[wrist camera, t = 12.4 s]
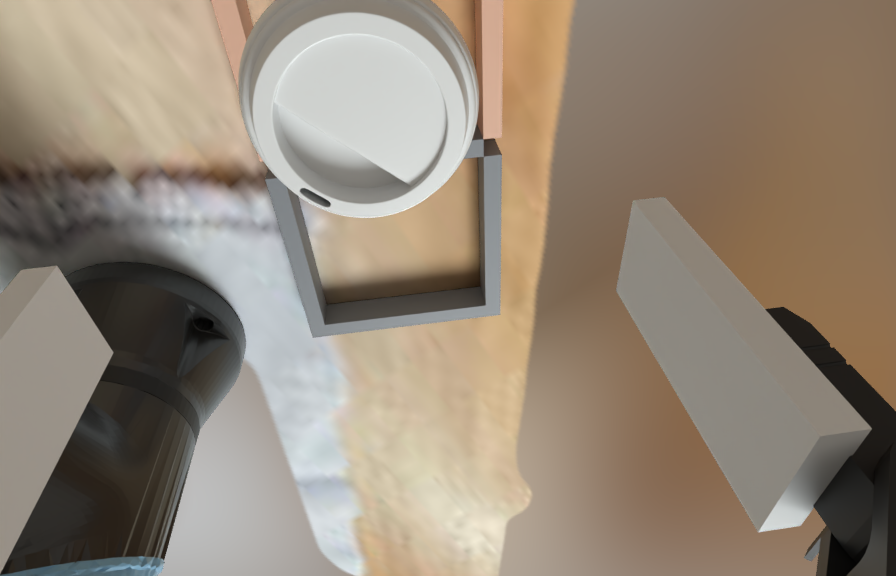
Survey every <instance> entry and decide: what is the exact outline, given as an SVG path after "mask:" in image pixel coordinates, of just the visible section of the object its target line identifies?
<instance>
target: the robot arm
mask: <svg viewBox="0 0 896 576" xmlns="http://www.w3.org/2000/svg"><path fill="white" fill-rule="evenodd" d="M616 291H617V293H618V295H619V296H620V298H621V300H622V301H623V303H624V305H625V307H626V308H627V310H628V312H629V314H630V315H631V317H632V319H633V320H634V322H635V324H636V325H637V327H638V329H639V331H640V332H641V334H642V336H643V337H644V339H645V341H646V342H647V344H648V346H649V347H650V349H651V351H652V352H653V354H654V356H655V358H656V359H657V361H658V363H659V365H660V366H661V368H662V369H663V371H664V373H665V375H666V376H667V378H668V380H669V382H670V383H671V385H672V387H673V388H674V390H675V392H676V394H677V395H678V397H679V398H680V400H681V402H682V404H683V405H684V407H685V409H686V411H687V412H688V414H689V416H690V417H691V419H692V421H693V422H694V424H695V426H696V428H697V429H698V431H699V432H700V434H701V436H702V438H703V439H704V441H705V443H706V444H707V446H708V448H709V450H710V451H711V453H712V455H713V456H714V458H715V460H716V462H717V463H718V465H719V466H720V468H721V470H722V472H723V473H724V475H725V477H726V479H727V480H728V482H729V484H730V485H731V487H732V489H733V490H734V492H735V494H736V496H737V497H738V499H739V501H740V502H741V504H742V506H743V507H744V509H745V511H746V513H747V514H748V516H749V518H750V519H751V521H752V523H753V525H754V526H755V528H756V530H757V531H758V532H762V531H769V530H776V529H782V528H789V527H795V526H801V524H802V523H803V522H804V520H805V519H806V517H807V516H808V515H809V513H810V512H811V511H812V509H813V508H815V509H816V510H817V512H818V514H819V515H820V516H821V518H822V519H823V521H824V522H825V524H826V525H827V526H826V527H825V528H824V529H823V531H822V532H821V533H820V534H819V536H818V537H817V538H816V539H815V541H814V542H813V543H812V544H811V546H810V547H809V548H808V550H807V553H806V555H805V557H804V558H805V559H807V560H809V561H812V560H813V559H814V558H815V556H816V555H817V554H818V553H819V556H818V564H817V572H816V576H896V411H895V410H894V409H893V408H892V407H891V406H890V405H889V404H888V403H887V402H886V401H885V400H884V399H883V398H882V397H881V396H880V395H879V394H878V393H877V392H876V391H875V389H874V388H872V387H871V385H870V384H869V383H868V382H867V381H866V380H865V379H864V378H863V377H862V376H861V375H860V374H859V373H858V372H857V371H856V370H855V369H854V368H853V367H852V366H851V365H847V364H846V360H845V359H844V358H843V357H842V355H841V354H840V353H839V352H838V351H836V349H835V348H831V347H830V343H829V342H828V341H827V340H826V339H825V338H824V337H823V336H822V335H821V334H820V333H819V332H818V331H817V330H816V329H815V328H814V327H813V326H812V324H810V323H809V322H807V321H806V320H804V319H803V318H801V317H799V316H797V315H796V314H794V313H793V312H791V311H789V310H788V309H786V308H784V307H780V308H771V309H764V308H763V307H762V305H761V304H760V303H759V302H758V301H757V300H756V299H755V298H754V296H753V295H752V294H751V293H750V292H749V291H748V290H747V289H746V288H745V286H744V285H743V284H742V283H741V282H740V281H739V280H738V279H737V278H736V276H735V275H734V274H733V273H732V272H731V271H730V270H729V269H728V268H727V266H726V265H725V264H724V263H723V262H722V261H721V260H720V259H719V257H718V256H717V255H716V254H715V253H714V252H713V251H712V250H711V249H710V248H709V246H708V245H707V244H706V243H705V242H704V241H703V240H702V239H701V237H700V236H699V235H698V234H697V233H696V232H695V231H694V230H693V228H692V227H691V226H690V225H689V224H688V223H687V222H686V221H685V220H684V218H682V216H681V215H680V214H679V213H678V212H677V211H676V209H675V208H674V207H673V206H672V205H671V204H670V203H669V202H668V201H667V200H666V198H665V197H661V198H652V199H644V200H634V201H633V204H632V209H631V214H630V220H629V225H628V231H627V236H626V241H625V246H624V251H623V257H622V262H621V267H620V273H619V278H618V283H617V289H616ZM245 348H246V340H245V334H244V330H243V327H242V325H241V323H240V321H239V319H238V317H237V315H236V314H235V312H234V311H233V310H232V309H231V307H230V306H229V305H228V304H227V303H226V302H225V301H224V300H223V299H222V298H221V297H220V296H219V295H217V294H216V293H215V292H213V291H212V290H211V289H209V288H208V287H206V286H205V285H203V284H201V283H200V282H198V281H196V280H194V279H192V278H190V277H188V276H185V275H183V274H180V273H178V272H175V271H172V270H169V269H165V268H161V267H157V266H152V265H147V264H139V263H107V264H100V265H95V266H91V267H87V268H84V269H81V270H79V271H76V272H74V273H72V274H70V275H68V276H67V277H64V275H63V274H62V272H61V271H60V269H59V268H58V266H49V267H40V268H32V269H23V270H20V272H19V273H18V274H17V275H16V276H15V278H14V279H13V280H12V281H11V282H10V283H9V285H8V286H7V287H6V288H5V289H4V291H3V292H2V293H1V294H0V576H158V574H159V573H161V571H162V569H163V564H164V558H165V554H166V551H167V548H168V544H169V540H170V537H171V533H172V529H173V526H174V522H175V518H176V515H177V511H178V507H179V504H180V500H181V496H182V493H183V489H184V485H185V482H186V478H187V474H188V470H189V467H190V463H191V459H192V456H193V452H194V448H195V445H196V441H197V438H198V435H199V431H200V429H201V427H202V426H203V425H204V423H205V422H206V421H207V419H208V418H209V417H210V415H211V414H212V413H213V412H214V410H215V409H216V408H217V406H218V405H219V403H220V402H221V401H222V400H223V398H224V397H225V396H226V395H227V393H228V392H229V390H230V389H231V388H232V386H233V385H234V383H235V382H236V380H237V378H238V375H239V373H240V369H241V366H242V362H243V358H244V354H245Z"/></svg>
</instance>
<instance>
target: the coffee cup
mask: <svg viewBox="0 0 896 576" xmlns="http://www.w3.org/2000/svg"><path fill="white" fill-rule="evenodd" d="M238 91H239V101H240V107H241V112H242V116H243V120H244V124H245V127H246V130H247V132H248V135H249V137H250V139H251V142H252V144H253V145H254V147H255V149H256V151H257V153H258V154H259V156H260V157H261V159H262V160H263V161H264V163H265V164H266V166H267V167H268V168H269V169H270V170H271V172H272V173H273V174H274V175H275V176H276V177H277V178H278V179H279V180H280V181H281V182H282V183H283V184H284V185H285V186H287V187H288V188H289V189H290V190H291V191H292V192H294V193H295V194H296V195H298V196H299V197H300V198H302V199H303V200H305V201H307V202H308V203H310V204H312V205H314V206H316V207H318V208H320V209H323V210H325V211H328V212H331V213H334V214H338V215H342V216H348V217H356V218H374V217H382V216H388V215H392V214H396V213H399V212H402V211H404V210H407V209H409V208H411V207H413V206H415V205H417V204H419V203H420V202H422V201H423V200H425V199H426V198H428V197H429V196H430V195H431V194H433V193H434V192H435V191H437V190H438V189H439V188H440V187H441V186H442V185H443V184H444V183H445V182H446V181H447V180H448V179H449V178H450V177H451V176H452V174H453V173H454V172H455V171H456V169H457V168H458V167H459V165H460V164H461V162H462V160H463V159H464V157H465V155H466V153H467V151H468V149H469V146H470V144H471V141H472V138H473V135H474V132H475V128H476V123H477V118H478V111H479V87H478V79H477V74H476V70H475V66H474V62H473V59H472V57H471V54H470V51H469V49H468V47H467V45H466V43H465V41H464V39H463V37H462V36H461V34H460V32H459V31H458V29H457V28H456V26H455V25H454V24H453V22H452V21H451V20H450V19H449V18H448V16H447V15H446V14H445V13H444V12H443V11H442V10H441V9H440V8H439V7H438V6H437V5H436V4H434V3H433V2H432V1H431V0H275V1H274V2H273V3H272V4H271V5H270V6H269V7H268V8H267V9H266V10H265V12H264V13H263V14H262V15H261V17H260V18H259V19H258V21H257V22H256V24H255V25H254V27H253V29H252V31H251V33H250V35H249V37H248V39H247V41H246V44H245V47H244V50H243V53H242V57H241V61H240V67H239V77H238Z"/></svg>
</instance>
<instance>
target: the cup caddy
mask: <svg viewBox="0 0 896 576" xmlns="http://www.w3.org/2000/svg"><path fill="white" fill-rule="evenodd" d="M211 2H212V5H213V8H214V12H215V15H216V18H217V22H218V25H219V28H220V31H221V35H222V38H223V41H224V45H225V48H226V51H227V55H228V58H229V61H230V65H231V68H232V71H233V75H234V78H235V81H236V84H237V88H238V77H239V67H240V61H241V57H242V53H243V50H244V47H245V44H246V41H247V39H248V37H249V35H250V33H251V31H252V29H253V24H252V21H251V17H250V13H249V9H248V6H247V2H246V0H211ZM475 41H476V74H477V79H478V87H479V111H478V118H477V124H476V128H475V132H474V135H473V138H472V141H471V144H470V146H469V149H468V151H467V153H466V155H465V157H464V159H466V158H475V157H478V186H479V234H480V283H481V287H472V288H464V289H455V290H447V291H438V292H430V293H421V294H413V295H405V296H396V297H388V298H379V299H371V300H362V301H354V302H345V303H337V304H329V305H327V304H326V301H325V297H324V293H323V289H322V285H321V282H320V278H319V274H318V270H317V266H316V263H315V259H314V255H313V251H312V248H311V244H310V240H309V236H308V232H307V229H306V225H305V221H304V217H303V214H302V210H301V206H300V202H299V198H298V195H296V194H295V193H294V192H292V191H291V190H290V189H289V188H288V187H287V186H285V185H284V184H283V183H282V182H281V181H280V180H279V179H278V178H277V177H276V176H275V175H274V174H273V173H272V172H271V170H270V169H268V172H267V175H266V178H265V181H266V184H267V187H268V191H269V194H270V197H271V200H272V204H273V207H274V210H275V214H276V217H277V220H278V224H279V227H280V230H281V234H282V237H283V240H284V244H285V247H286V250H287V253H288V257H289V260H290V263H291V267H292V270H293V273H294V277H295V280H296V283H297V287H298V290H299V293H300V297H301V300H302V303H303V307H304V310H305V313H306V316H307V320H308V323H309V326H310V330H311V333H312V336H313V338H314V337H322V336H330V335H338V334H347V333H355V332H363V331H371V330H379V329H388V328H396V327H404V326H412V325H420V324H429V323H437V322H445V321H453V320H462V319H470V318H478V317H486V316H494V315H500V279H501V177H502V154H501V152H500V150H499V148H498V146H497V143H496V141H495V139H493V140H483V139H491V138H501V137H502V76H503V0H475ZM257 154H258V153H257ZM258 157H259V161H260V162H264V161H263V160H262V159H261V157H260V156H259V154H258Z"/></svg>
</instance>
